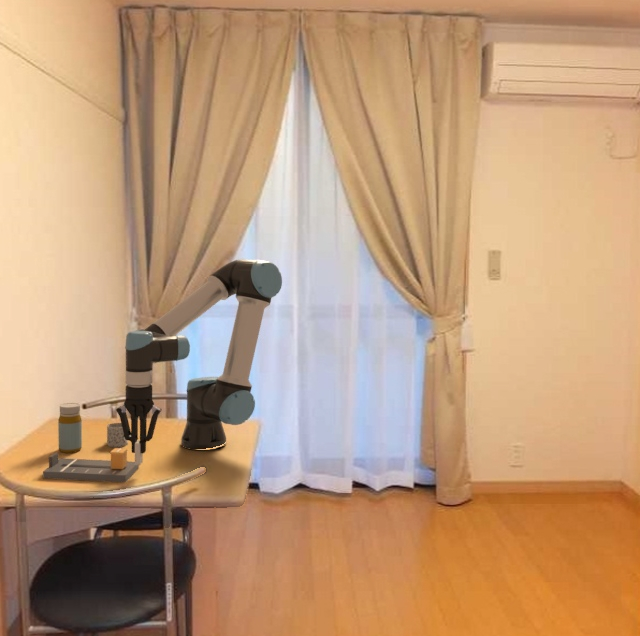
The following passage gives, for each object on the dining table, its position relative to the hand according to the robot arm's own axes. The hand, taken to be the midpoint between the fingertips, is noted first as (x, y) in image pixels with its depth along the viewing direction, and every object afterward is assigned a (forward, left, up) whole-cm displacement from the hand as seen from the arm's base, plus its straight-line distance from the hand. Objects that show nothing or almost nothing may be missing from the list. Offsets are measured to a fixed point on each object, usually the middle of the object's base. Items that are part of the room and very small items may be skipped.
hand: (138, 463), depth 199 cm
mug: (+17, -30, -4) cm, 35 cm away
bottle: (+29, -20, -4) cm, 35 cm away
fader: (+6, 0, -1) cm, 6 cm away
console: (+14, 0, -4) cm, 14 cm away
